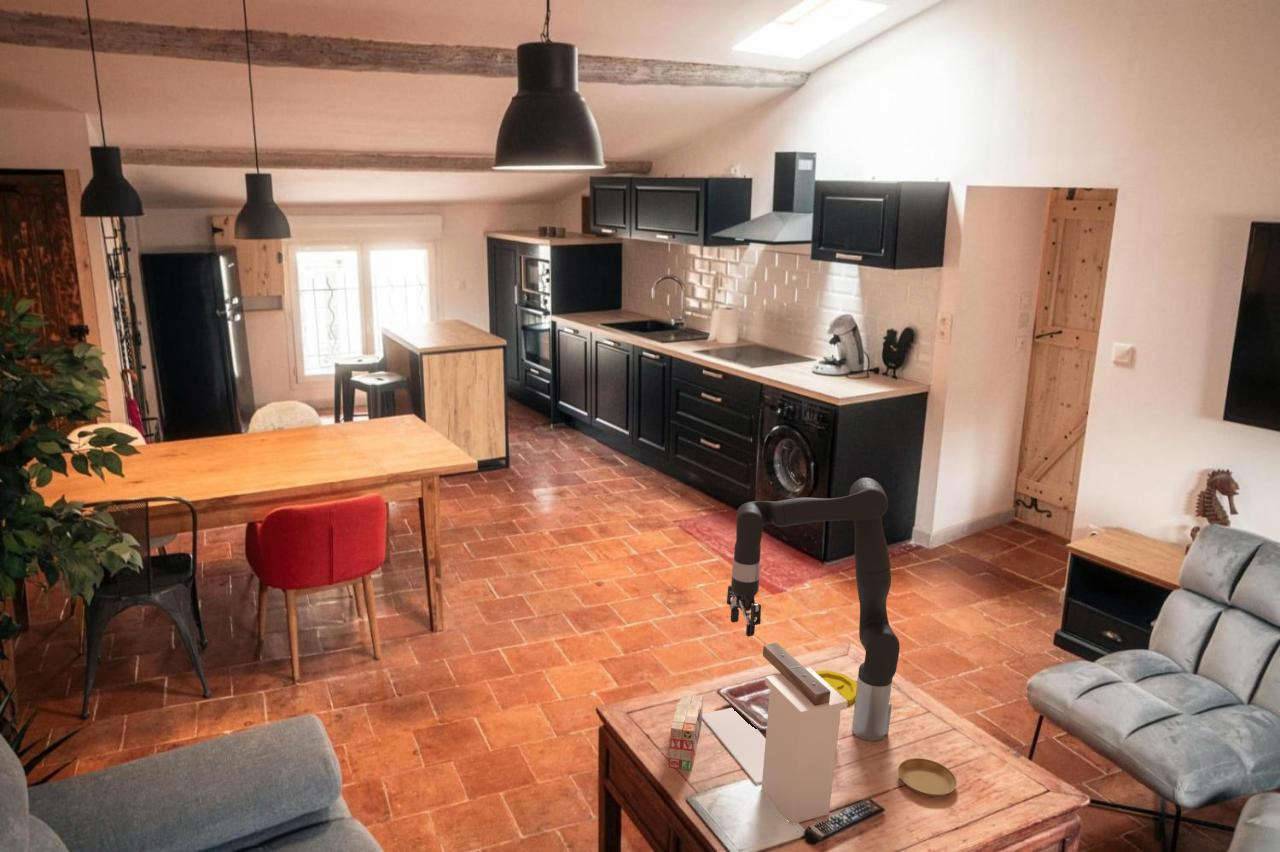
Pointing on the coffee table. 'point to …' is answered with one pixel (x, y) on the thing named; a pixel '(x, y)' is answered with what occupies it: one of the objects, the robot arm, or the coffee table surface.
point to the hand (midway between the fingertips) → (741, 628)
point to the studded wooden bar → (796, 674)
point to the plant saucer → (927, 777)
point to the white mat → (739, 740)
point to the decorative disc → (840, 684)
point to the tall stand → (800, 749)
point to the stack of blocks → (685, 732)
